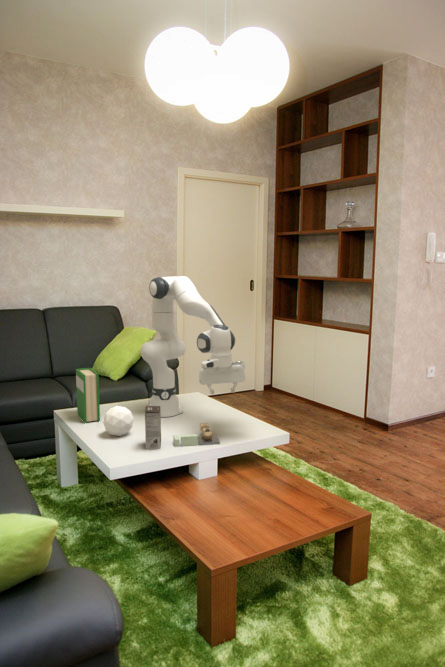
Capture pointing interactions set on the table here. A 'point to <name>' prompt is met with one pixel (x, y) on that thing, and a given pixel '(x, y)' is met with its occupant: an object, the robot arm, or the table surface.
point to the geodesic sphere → (118, 420)
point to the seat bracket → (185, 440)
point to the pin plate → (207, 442)
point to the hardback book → (88, 394)
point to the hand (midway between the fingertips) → (222, 393)
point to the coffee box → (153, 427)
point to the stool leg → (206, 431)
